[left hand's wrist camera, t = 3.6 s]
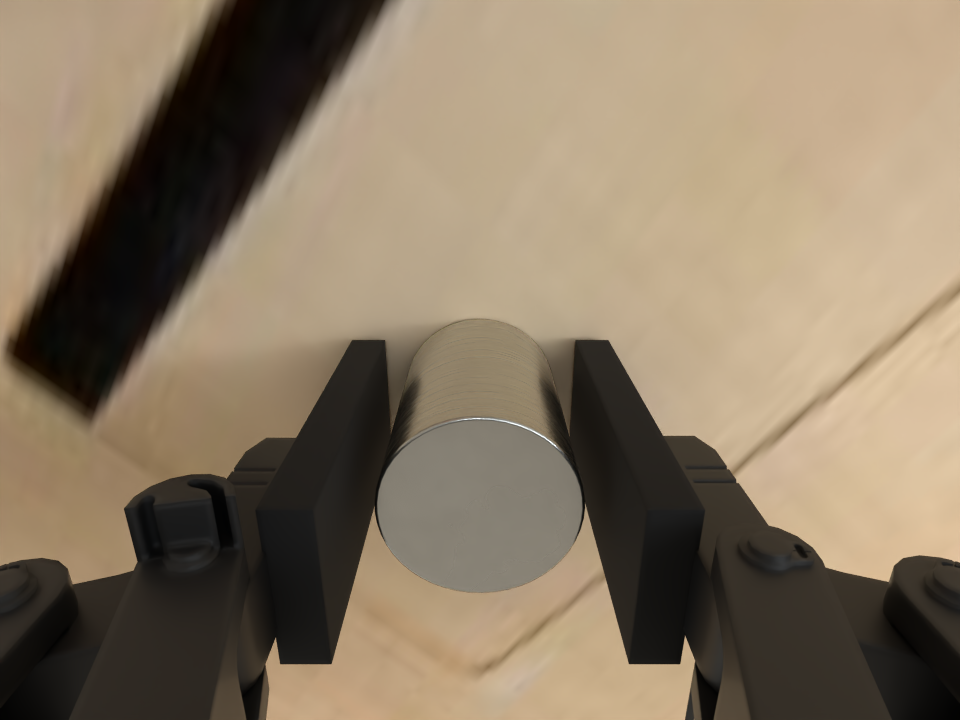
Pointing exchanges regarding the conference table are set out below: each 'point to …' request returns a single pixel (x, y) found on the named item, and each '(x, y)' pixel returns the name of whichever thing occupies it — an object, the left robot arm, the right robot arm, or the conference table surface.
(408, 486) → the can
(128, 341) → the conference table surface
